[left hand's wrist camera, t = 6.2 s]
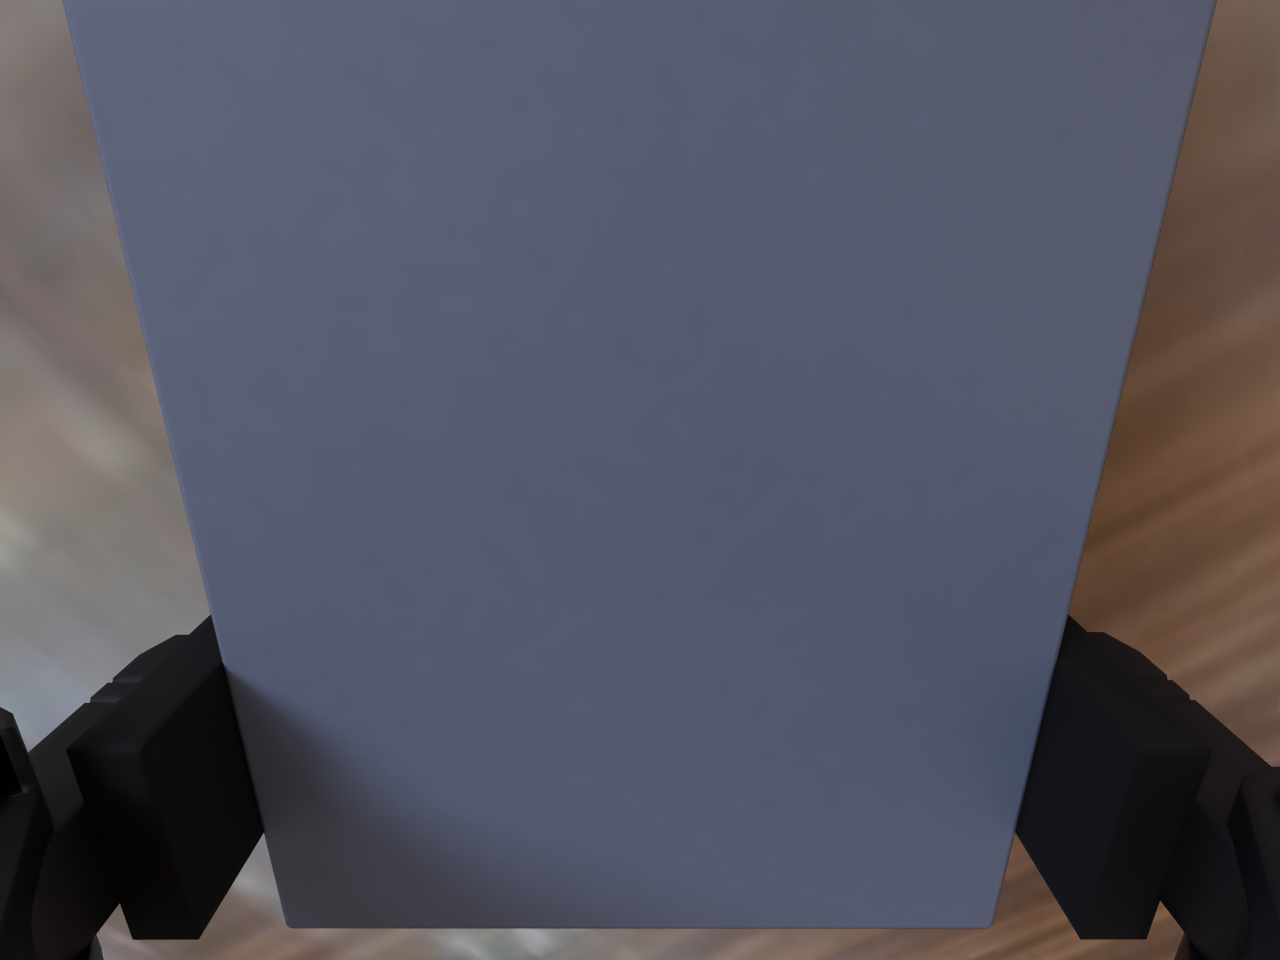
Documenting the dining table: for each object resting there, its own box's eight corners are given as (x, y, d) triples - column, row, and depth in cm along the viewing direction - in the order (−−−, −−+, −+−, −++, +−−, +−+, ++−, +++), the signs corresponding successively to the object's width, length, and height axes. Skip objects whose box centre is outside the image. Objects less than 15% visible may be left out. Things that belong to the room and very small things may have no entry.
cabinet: (335, -508, 12) (-633, -2811, 3) (944, -508, 12) (1905, -2796, 3) (451, 596, 19) (284, 931, 10) (828, 596, 19) (994, 931, 10)
